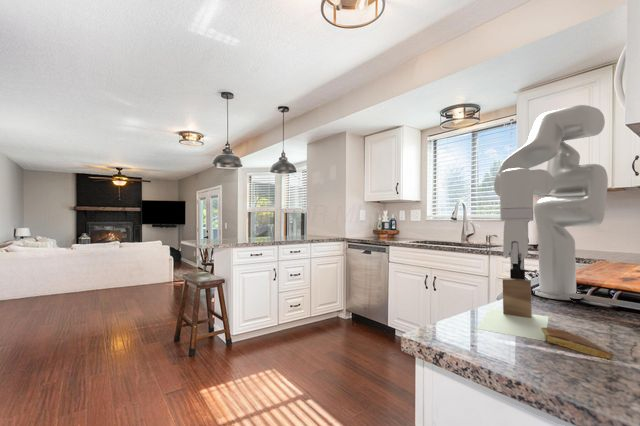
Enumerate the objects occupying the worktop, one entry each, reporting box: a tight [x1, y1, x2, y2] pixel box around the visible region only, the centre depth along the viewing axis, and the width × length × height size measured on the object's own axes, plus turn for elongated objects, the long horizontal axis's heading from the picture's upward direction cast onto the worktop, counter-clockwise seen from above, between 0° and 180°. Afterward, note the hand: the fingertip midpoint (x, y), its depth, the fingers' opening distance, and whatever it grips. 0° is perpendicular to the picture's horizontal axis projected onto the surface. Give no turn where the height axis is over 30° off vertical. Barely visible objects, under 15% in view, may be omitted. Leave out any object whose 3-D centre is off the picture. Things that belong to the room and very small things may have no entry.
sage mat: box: [476, 308, 549, 342], centre depth 78 cm, size 19×13×1 cm
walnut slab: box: [502, 277, 533, 318], centre depth 83 cm, size 2×6×9 cm, turn 53°
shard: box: [541, 327, 614, 361], centre depth 63 cm, size 11×8×2 cm
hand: (517, 284), depth 86 cm, fingers closed
